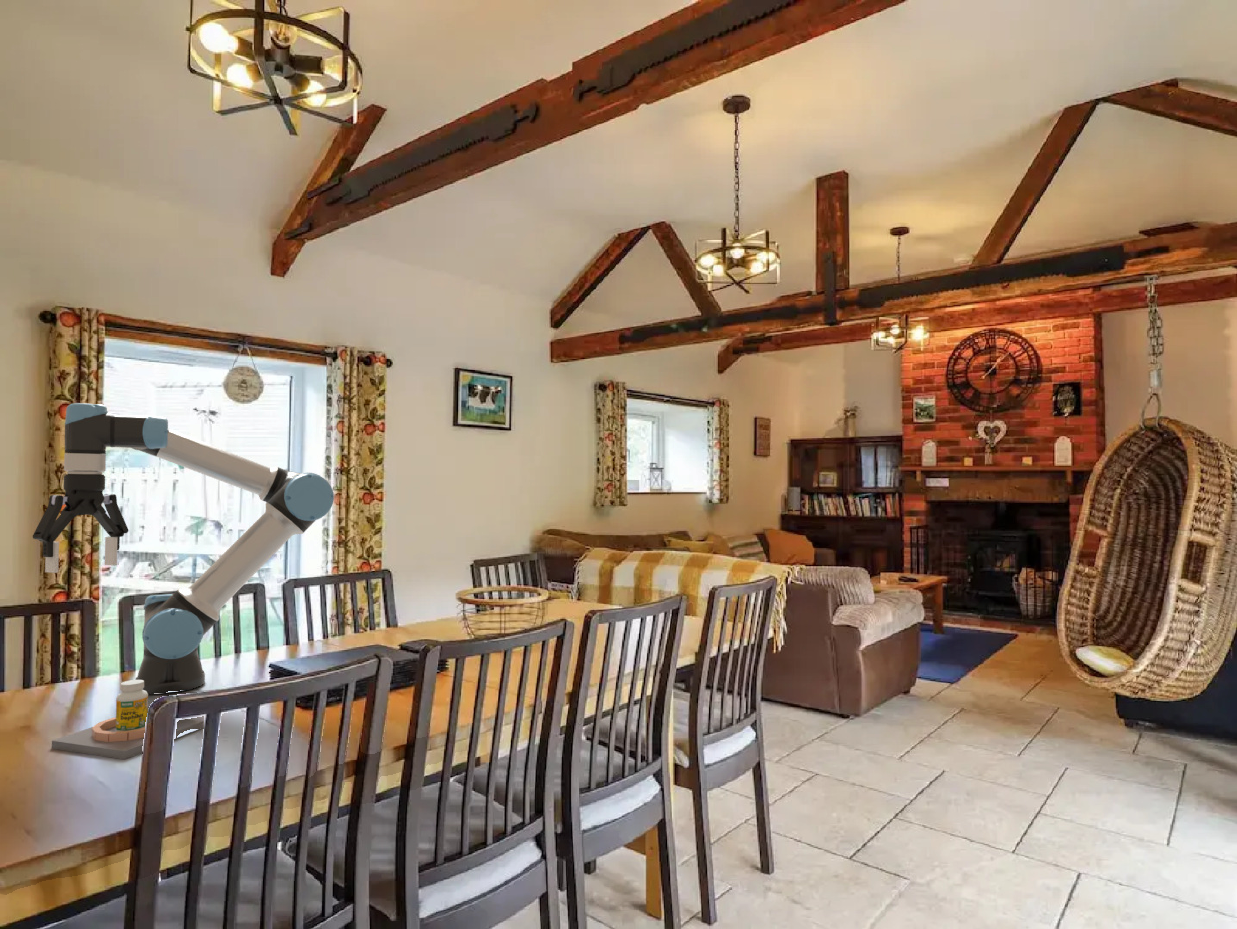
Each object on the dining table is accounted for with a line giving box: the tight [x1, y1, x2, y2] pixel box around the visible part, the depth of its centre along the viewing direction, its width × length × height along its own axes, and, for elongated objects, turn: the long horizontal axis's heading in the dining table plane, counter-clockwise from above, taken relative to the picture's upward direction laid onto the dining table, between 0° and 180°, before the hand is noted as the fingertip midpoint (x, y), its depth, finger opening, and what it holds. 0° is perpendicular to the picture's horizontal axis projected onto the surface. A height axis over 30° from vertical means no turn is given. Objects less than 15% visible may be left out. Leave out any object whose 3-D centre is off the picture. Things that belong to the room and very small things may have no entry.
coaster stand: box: [51, 716, 204, 760], centre depth 150 cm, size 18×18×3 cm
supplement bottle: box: [115, 679, 149, 732], centre depth 150 cm, size 5×5×10 cm
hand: (82, 568), depth 166 cm, fingers open, 13 cm apart
